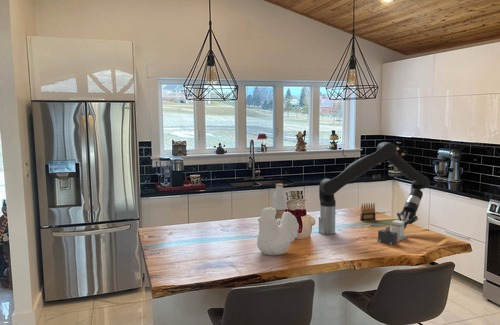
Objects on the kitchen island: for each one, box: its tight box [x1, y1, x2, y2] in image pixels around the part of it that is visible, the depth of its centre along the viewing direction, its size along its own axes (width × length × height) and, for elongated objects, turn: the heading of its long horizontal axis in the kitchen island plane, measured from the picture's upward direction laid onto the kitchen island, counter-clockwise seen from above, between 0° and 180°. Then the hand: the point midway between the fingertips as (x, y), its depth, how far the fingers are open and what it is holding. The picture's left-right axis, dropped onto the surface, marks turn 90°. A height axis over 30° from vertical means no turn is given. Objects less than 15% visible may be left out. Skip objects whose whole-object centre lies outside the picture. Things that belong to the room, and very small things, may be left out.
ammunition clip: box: [359, 202, 376, 222], centre depth 272 cm, size 11×2×12 cm, turn 104°
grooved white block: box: [391, 219, 405, 238], centre depth 228 cm, size 5×5×9 cm
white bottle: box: [271, 183, 288, 225], centre depth 257 cm, size 9×9×28 cm
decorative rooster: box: [256, 207, 300, 256], centre depth 208 cm, size 25×16×25 cm, turn 108°
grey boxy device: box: [377, 225, 408, 246], centre depth 224 cm, size 18×9×10 cm, turn 134°
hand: (402, 228), depth 232 cm, fingers closed
